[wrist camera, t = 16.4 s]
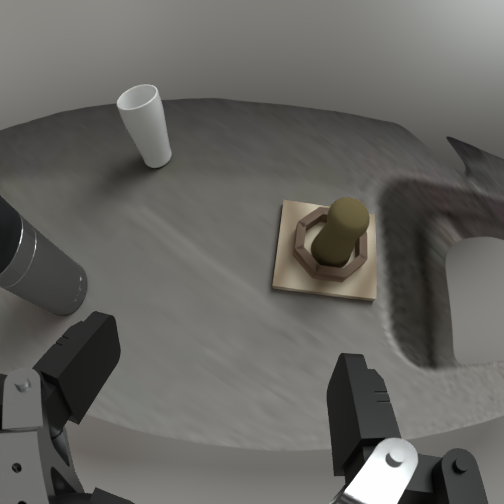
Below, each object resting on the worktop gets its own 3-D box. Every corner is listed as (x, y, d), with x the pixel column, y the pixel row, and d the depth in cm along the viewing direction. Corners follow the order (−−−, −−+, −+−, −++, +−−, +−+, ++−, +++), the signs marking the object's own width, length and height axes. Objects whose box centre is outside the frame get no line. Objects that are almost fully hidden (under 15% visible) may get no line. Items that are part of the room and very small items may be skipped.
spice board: (271, 288, 42) (273, 280, 39) (283, 204, 47) (285, 191, 44) (373, 301, 41) (382, 294, 38) (372, 218, 46) (379, 207, 43)
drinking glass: (144, 177, 50) (116, 116, 36) (139, 152, 52) (115, 93, 39) (179, 164, 51) (161, 100, 37) (172, 141, 53) (155, 79, 40)
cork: (358, 256, 42) (386, 219, 32) (327, 277, 41) (350, 244, 31) (333, 225, 44) (353, 182, 34) (302, 244, 43) (316, 202, 33)
